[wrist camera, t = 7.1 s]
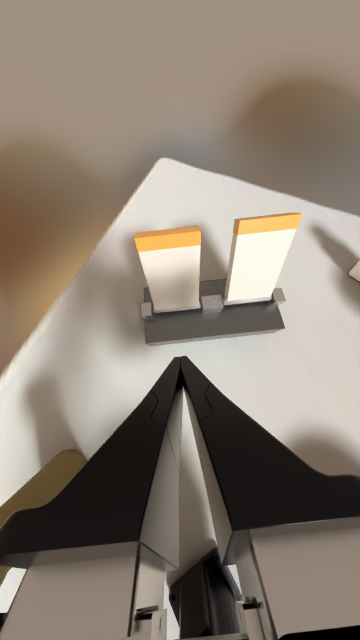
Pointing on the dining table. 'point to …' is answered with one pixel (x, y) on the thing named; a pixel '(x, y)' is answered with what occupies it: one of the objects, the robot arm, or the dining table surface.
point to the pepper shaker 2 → (355, 271)
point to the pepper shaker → (43, 487)
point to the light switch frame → (211, 317)
